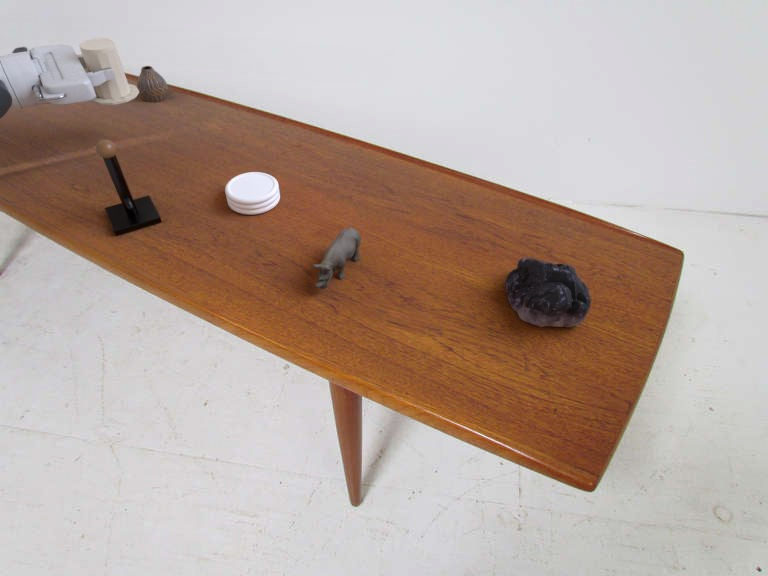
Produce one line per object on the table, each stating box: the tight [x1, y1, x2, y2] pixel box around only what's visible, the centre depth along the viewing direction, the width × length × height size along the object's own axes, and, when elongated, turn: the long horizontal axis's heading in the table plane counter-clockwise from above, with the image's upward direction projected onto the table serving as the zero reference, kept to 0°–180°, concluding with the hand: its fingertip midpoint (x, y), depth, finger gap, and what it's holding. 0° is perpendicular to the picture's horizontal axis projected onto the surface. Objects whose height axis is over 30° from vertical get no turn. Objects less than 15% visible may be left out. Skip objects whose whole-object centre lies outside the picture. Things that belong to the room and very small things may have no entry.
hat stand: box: [95, 139, 163, 237], centre depth 86 cm, size 8×8×16 cm
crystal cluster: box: [503, 257, 592, 328], centre depth 76 cm, size 13×14×10 cm
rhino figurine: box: [312, 227, 362, 290], centre depth 81 cm, size 4×14×6 cm, turn 155°
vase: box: [136, 65, 170, 103], centre depth 121 cm, size 7×7×9 cm
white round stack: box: [224, 171, 281, 216], centre depth 95 cm, size 10×10×4 cm
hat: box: [78, 37, 140, 106], centre depth 97 cm, size 9×9×10 cm
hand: (109, 65), depth 97 cm, fingers closed on hat, 6 cm apart
